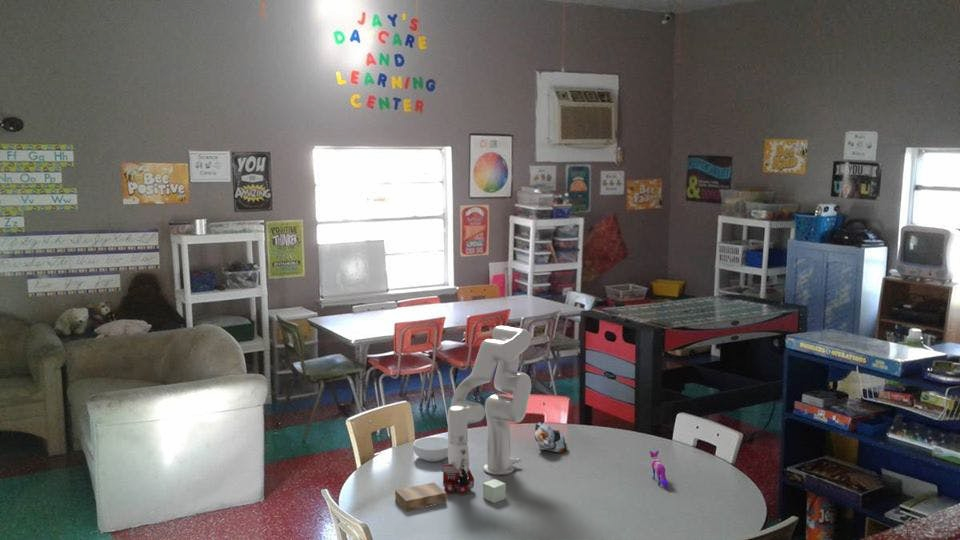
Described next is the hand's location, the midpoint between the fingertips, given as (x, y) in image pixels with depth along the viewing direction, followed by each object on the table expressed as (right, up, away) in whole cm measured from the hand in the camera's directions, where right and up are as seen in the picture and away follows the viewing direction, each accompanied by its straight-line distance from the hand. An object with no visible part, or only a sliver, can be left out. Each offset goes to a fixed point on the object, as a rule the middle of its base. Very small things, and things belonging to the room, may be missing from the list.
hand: (457, 480), depth 308 cm
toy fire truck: (0, -4, +1) cm, 4 cm away
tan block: (-14, -5, -10) cm, 18 cm away
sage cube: (+14, -5, -7) cm, 16 cm away
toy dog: (+80, -3, +9) cm, 81 cm away
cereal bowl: (-11, 0, +34) cm, 36 cm away
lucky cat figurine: (+40, +2, +44) cm, 60 cm away
